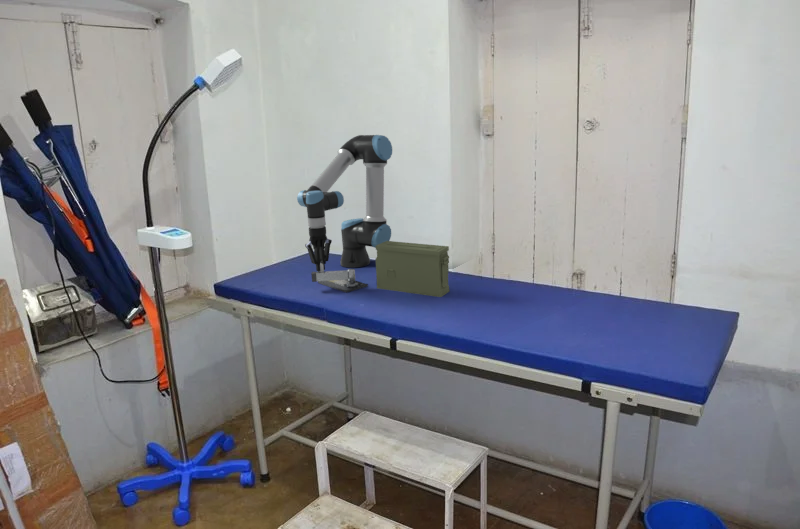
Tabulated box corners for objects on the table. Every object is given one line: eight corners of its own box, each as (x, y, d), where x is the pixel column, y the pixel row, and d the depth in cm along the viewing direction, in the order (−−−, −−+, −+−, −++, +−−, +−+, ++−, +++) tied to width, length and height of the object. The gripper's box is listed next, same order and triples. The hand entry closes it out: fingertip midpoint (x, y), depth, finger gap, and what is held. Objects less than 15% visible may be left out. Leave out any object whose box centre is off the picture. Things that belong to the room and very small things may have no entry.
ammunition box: (442, 297, 250) (441, 251, 245) (376, 288, 266) (373, 244, 261) (452, 291, 258) (451, 246, 253) (387, 282, 274) (385, 240, 269)
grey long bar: (355, 281, 270) (354, 268, 268) (355, 283, 266) (354, 270, 265) (313, 283, 269) (311, 270, 267) (312, 285, 266) (311, 272, 264)
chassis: (339, 277, 286) (338, 272, 285) (367, 286, 270) (367, 281, 269) (318, 283, 278) (317, 278, 278) (346, 292, 262) (345, 287, 262)
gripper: (324, 222, 270) (328, 272, 277) (299, 227, 262) (304, 279, 268) (334, 225, 264) (338, 276, 271) (309, 230, 256) (313, 282, 263)
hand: (321, 277), depth 270 cm, fingers closed
